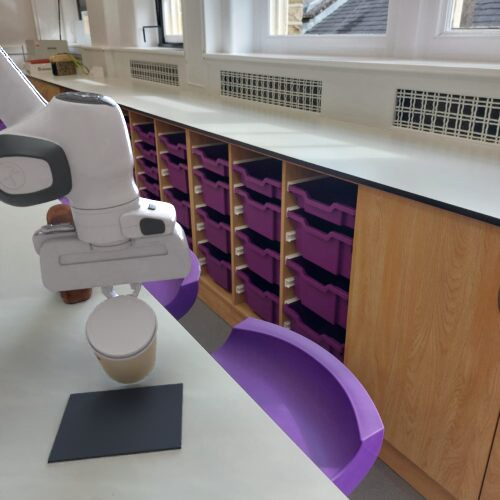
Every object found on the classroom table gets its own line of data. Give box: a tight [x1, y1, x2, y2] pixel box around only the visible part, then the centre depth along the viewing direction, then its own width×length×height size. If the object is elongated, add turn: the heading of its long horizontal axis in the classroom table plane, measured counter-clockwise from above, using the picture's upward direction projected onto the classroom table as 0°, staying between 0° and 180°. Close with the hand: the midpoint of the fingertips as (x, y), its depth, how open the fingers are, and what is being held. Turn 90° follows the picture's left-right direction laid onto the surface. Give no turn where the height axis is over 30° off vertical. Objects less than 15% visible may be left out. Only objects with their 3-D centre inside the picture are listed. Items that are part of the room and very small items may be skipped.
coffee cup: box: [84, 294, 159, 385], centre depth 69 cm, size 9×9×12 cm
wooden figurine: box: [45, 202, 93, 304], centre depth 94 cm, size 12×6×18 cm, turn 25°
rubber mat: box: [47, 382, 184, 464], centre depth 65 cm, size 16×12×1 cm
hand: (126, 308), depth 70 cm, fingers closed, pressing on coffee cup
